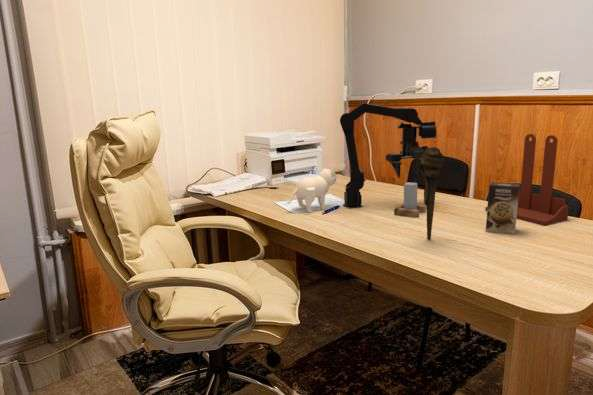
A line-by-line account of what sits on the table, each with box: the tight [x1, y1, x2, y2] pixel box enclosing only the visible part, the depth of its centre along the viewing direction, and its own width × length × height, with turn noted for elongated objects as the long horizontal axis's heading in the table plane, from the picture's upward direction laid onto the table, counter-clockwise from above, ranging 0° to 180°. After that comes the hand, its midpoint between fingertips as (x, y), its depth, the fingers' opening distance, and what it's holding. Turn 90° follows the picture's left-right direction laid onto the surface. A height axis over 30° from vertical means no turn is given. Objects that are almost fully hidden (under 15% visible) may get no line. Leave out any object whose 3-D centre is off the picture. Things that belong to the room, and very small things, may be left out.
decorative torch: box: [421, 146, 445, 241], centre depth 134 cm, size 7×7×30 cm
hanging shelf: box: [484, 133, 570, 227], centre depth 157 cm, size 24×13×30 cm, turn 27°
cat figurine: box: [285, 167, 338, 213], centre depth 178 cm, size 25×10×17 cm, turn 115°
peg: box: [403, 181, 418, 210], centre depth 167 cm, size 4×4×12 cm
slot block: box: [393, 202, 427, 219], centre depth 168 cm, size 9×10×2 cm
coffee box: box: [484, 181, 521, 235], centre depth 142 cm, size 9×6×16 cm
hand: (408, 176), depth 177 cm, fingers open, 9 cm apart
